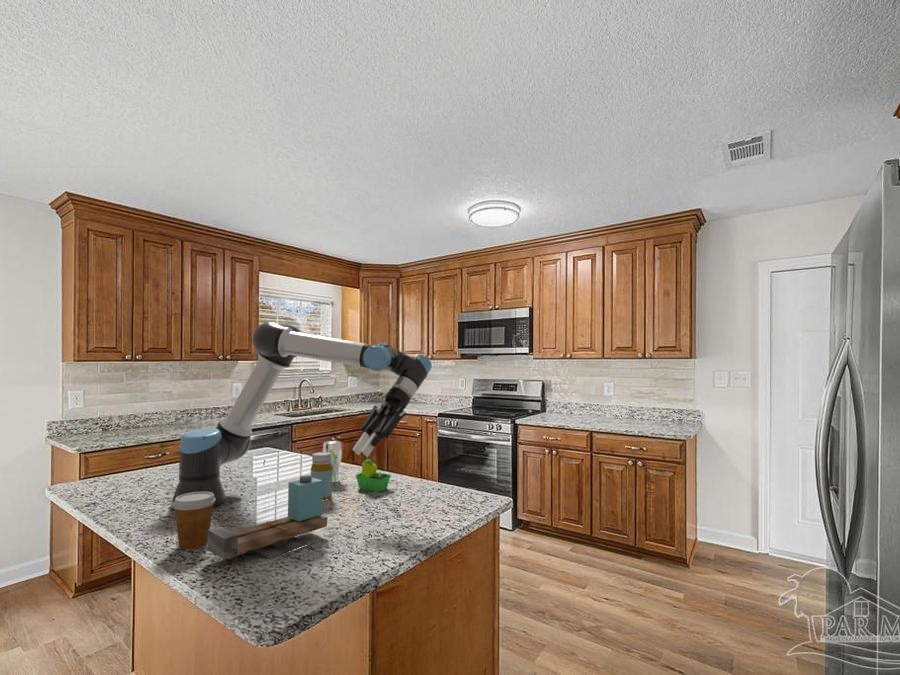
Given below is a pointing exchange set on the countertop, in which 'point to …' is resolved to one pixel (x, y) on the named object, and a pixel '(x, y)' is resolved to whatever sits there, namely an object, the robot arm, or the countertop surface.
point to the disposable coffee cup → (193, 518)
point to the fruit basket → (372, 478)
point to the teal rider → (304, 498)
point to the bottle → (323, 472)
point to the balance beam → (263, 537)
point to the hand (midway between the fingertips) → (360, 453)
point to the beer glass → (334, 457)
